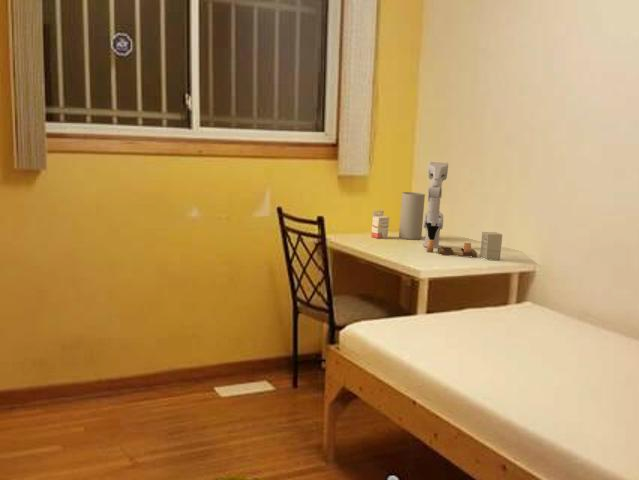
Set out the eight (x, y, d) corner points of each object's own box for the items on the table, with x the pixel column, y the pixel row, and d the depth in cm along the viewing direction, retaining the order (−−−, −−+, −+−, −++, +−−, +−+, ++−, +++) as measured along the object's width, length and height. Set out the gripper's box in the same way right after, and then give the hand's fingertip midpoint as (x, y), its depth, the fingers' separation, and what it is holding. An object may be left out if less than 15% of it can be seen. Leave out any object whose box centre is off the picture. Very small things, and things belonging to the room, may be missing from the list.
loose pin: (426, 251, 337) (427, 239, 336) (433, 251, 337) (434, 239, 336) (427, 252, 334) (427, 240, 333) (433, 252, 334) (434, 240, 333)
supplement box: (493, 257, 330) (496, 231, 328) (500, 260, 323) (502, 234, 321) (479, 257, 329) (481, 231, 327) (485, 260, 321) (488, 233, 319)
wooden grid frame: (437, 250, 340) (437, 246, 340) (473, 253, 339) (473, 249, 339) (439, 254, 328) (439, 250, 328) (476, 257, 327) (477, 253, 327)
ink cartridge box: (377, 238, 368) (379, 212, 366) (370, 237, 372) (372, 210, 370) (388, 237, 374) (390, 211, 372) (381, 236, 378) (383, 210, 375)
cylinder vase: (417, 236, 385) (421, 192, 381) (424, 240, 372) (427, 195, 368) (396, 235, 383) (399, 191, 379) (402, 239, 371) (405, 194, 367)
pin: (462, 254, 332) (464, 242, 331) (469, 255, 332) (470, 243, 331) (463, 256, 329) (464, 243, 328) (470, 256, 329) (471, 244, 328)
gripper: (424, 209, 340) (422, 235, 342) (426, 212, 326) (423, 240, 328) (438, 210, 339) (436, 236, 341) (440, 213, 325) (438, 241, 327)
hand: (431, 238), depth 334 cm, fingers open, 7 cm apart
